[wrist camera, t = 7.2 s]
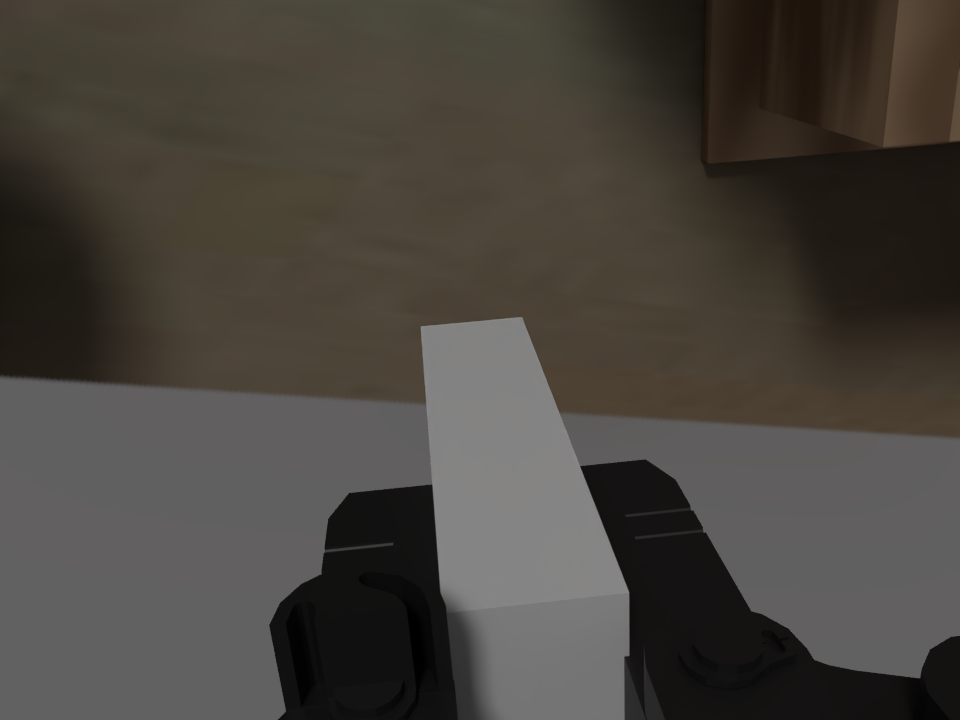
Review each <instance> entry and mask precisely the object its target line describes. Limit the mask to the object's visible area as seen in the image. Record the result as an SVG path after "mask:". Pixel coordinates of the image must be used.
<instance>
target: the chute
mask: <svg viewBox="0 0 960 720" xmlns="http://www.w3.org/2000/svg"><path fill="white" fill-rule="evenodd" d="M950 143H960V0H706V13H705V48H704V82H703V117H702V152H701V161H703V162H705V163H707V164H713V163H725V162H737V161H749V160H760V159H772V158H784V157H796V156H808V155H820V154H831V153H843V152H855V151H867V150H879V149H890V148H902V147H914V146H926V145H938V144H950Z"/></svg>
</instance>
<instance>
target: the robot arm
mask: <svg viewBox="0 0 960 720" xmlns="http://www.w3.org/2000/svg"><path fill="white" fill-rule="evenodd" d="M421 337H422V351H423V364H424V378H425V391H426V404H427V417H428V431H429V445H430V457H431V471H432V485H424V486H414V487H404V488H394V489H384V490H375V491H365V492H355V493H349V494H348V495H347V496H346V498H345V499H344V500H343V501H342V503H341V504H340V505H339V506H338V508H337V509H336V510H335V511H334V513H333V514H332V515H331V516H330V518H329V519H328V525H327V533H326V541H325V553H324V556H323V564H322V574H321V575H319V576H317V577H315V578H313V579H311V580H309V581H307V582H305V583H303V584H301V585H300V586H299V587H298V588H297V589H295V590H294V591H293V592H292V593H291V594H290V595H289V596H288V597H286V598H285V599H284V600H283V601H282V602H281V603H280V604H279V607H278V608H277V610H276V613H275V615H274V617H273V619H272V621H271V623H270V625H269V626H270V631H271V636H272V641H273V646H274V651H275V656H276V662H277V666H278V672H279V677H280V682H281V687H282V692H283V697H284V702H285V707H286V712H285V713H284V714H283V715H282V716H281V717H280V718H279V719H278V720H960V636H955V637H950V638H949V639H947V640H945V641H944V642H942V643H940V644H939V645H937V646H935V647H934V648H932V649H930V652H929V654H928V656H927V658H926V661H925V663H924V665H923V667H922V671H921V678H911V677H903V676H895V675H887V674H878V673H871V672H863V671H855V670H850V669H844V668H840V667H834V666H830V665H827V664H824V663H821V662H818V661H815V660H814V659H813V658H812V656H811V654H810V653H809V651H808V650H807V648H806V647H805V646H804V645H803V644H802V643H801V642H800V641H799V640H798V639H797V638H796V637H795V635H794V634H793V633H792V632H791V631H790V630H789V629H788V628H786V627H784V626H782V625H780V624H779V623H777V622H775V621H773V620H771V619H769V618H768V617H766V616H764V615H762V614H759V613H755V612H751V610H750V608H749V607H748V605H747V603H746V601H745V600H744V598H743V596H742V594H741V593H740V591H739V589H738V588H737V586H736V584H735V582H734V581H733V579H732V577H731V575H730V574H729V572H728V570H727V569H726V567H725V565H724V563H723V561H722V560H721V558H720V557H719V555H718V553H717V551H716V550H715V548H714V546H713V544H712V542H711V541H710V539H709V537H708V535H707V534H706V533H703V527H702V525H701V523H700V522H699V520H698V518H697V517H696V515H695V513H694V511H691V509H690V504H689V502H688V501H687V499H686V498H685V496H684V494H683V492H682V490H681V489H680V487H679V485H678V483H677V482H676V480H675V479H674V478H672V477H671V476H669V475H668V474H666V473H665V472H663V471H662V470H660V469H659V468H657V467H656V466H654V465H653V464H651V463H650V462H649V461H647V460H636V461H627V462H617V463H607V464H597V465H587V466H580V465H579V463H578V460H577V457H576V455H575V452H574V450H573V447H572V445H571V442H570V440H569V437H568V434H567V432H566V429H565V427H564V424H563V422H562V419H561V416H560V414H559V411H558V409H557V406H556V404H555V401H554V398H553V396H552V393H551V391H550V388H549V386H548V383H547V381H546V378H545V375H544V373H543V370H542V368H541V365H540V363H539V360H538V357H537V355H536V352H535V350H534V347H533V345H532V342H531V339H530V337H529V334H528V332H527V329H526V327H525V324H524V322H523V319H522V317H518V318H507V319H497V320H486V321H475V322H465V323H454V324H443V325H432V326H422V327H421Z"/></svg>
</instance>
